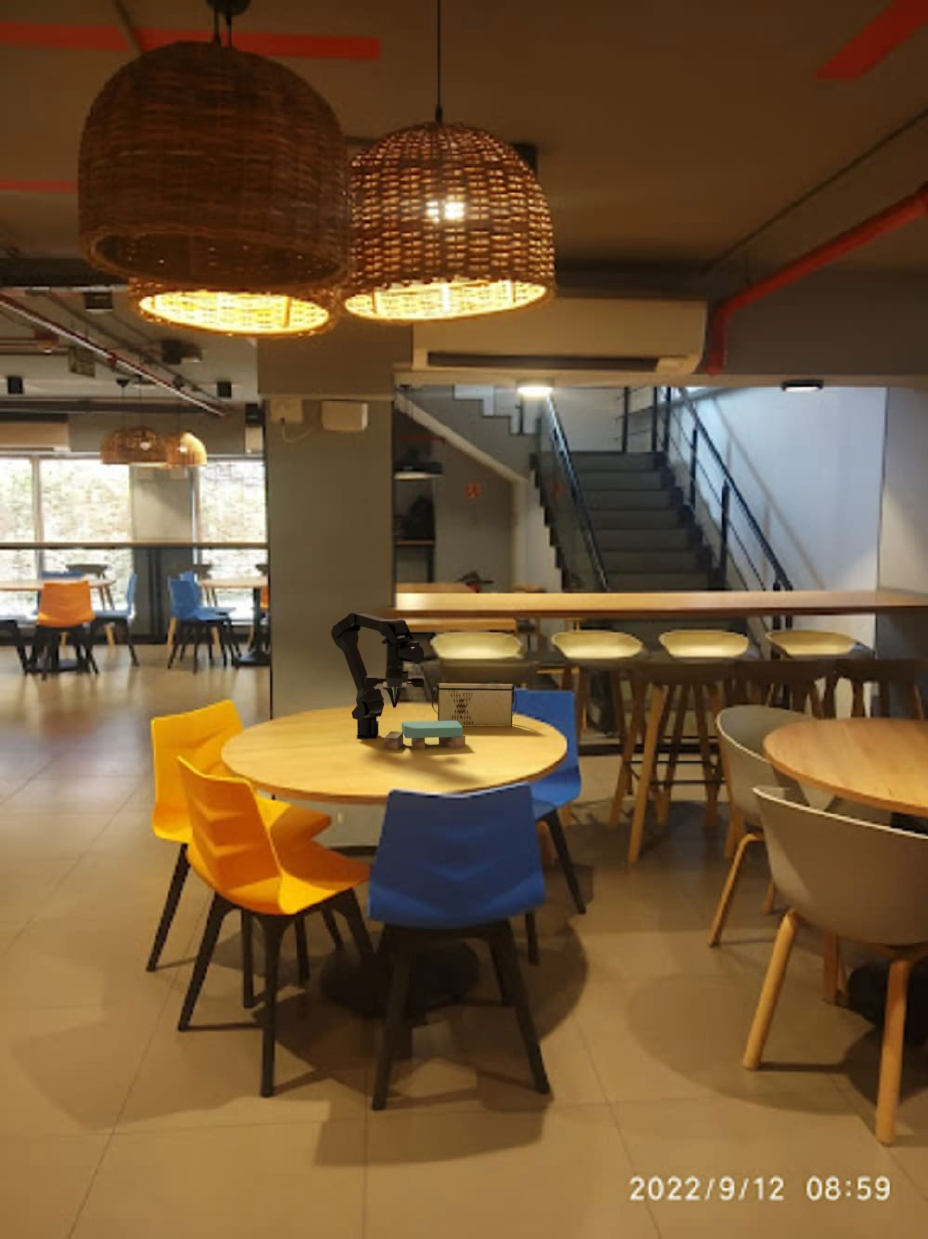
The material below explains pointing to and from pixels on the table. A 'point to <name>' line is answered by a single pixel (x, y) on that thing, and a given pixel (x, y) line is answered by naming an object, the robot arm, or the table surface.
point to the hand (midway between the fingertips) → (394, 707)
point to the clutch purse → (476, 703)
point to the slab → (432, 729)
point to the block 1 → (393, 740)
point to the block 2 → (418, 743)
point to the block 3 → (452, 742)
